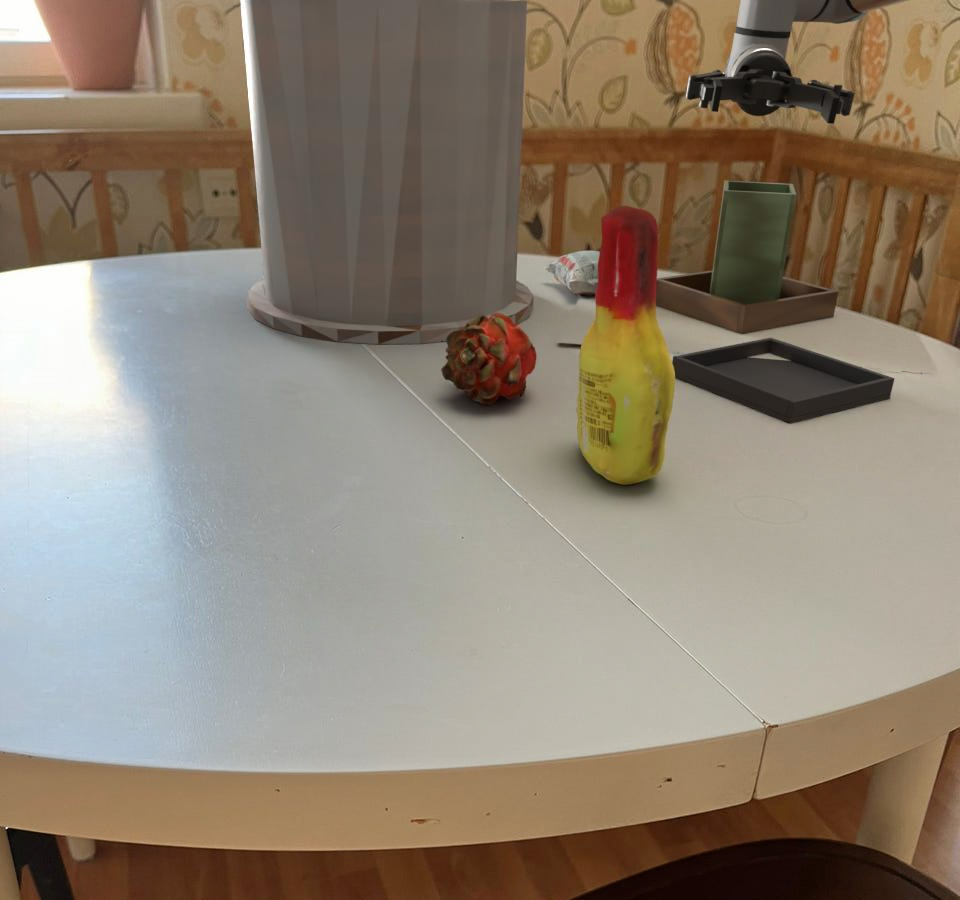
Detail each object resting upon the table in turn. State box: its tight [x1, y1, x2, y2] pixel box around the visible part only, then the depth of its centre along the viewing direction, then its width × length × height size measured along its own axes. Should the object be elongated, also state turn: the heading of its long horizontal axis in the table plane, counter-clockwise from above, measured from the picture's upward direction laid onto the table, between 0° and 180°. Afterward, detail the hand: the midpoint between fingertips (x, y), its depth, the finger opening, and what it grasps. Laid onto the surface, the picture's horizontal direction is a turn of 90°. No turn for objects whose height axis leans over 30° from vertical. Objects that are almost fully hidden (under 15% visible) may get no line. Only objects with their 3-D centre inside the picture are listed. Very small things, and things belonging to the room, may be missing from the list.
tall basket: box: [709, 179, 797, 305], centre depth 125 cm, size 8×8×14 cm
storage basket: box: [240, 0, 534, 345], centre depth 121 cm, size 35×35×32 cm
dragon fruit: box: [440, 313, 537, 406], centre depth 99 cm, size 8×8×12 cm
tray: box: [671, 337, 895, 424], centre depth 104 cm, size 16×14×2 cm
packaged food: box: [544, 250, 600, 296], centre depth 135 cm, size 9×12×5 cm
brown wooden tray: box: [656, 269, 839, 335], centre depth 128 cm, size 16×16×4 cm
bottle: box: [576, 205, 676, 486], centre depth 81 cm, size 12×6×20 cm, turn 13°
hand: (775, 105), depth 123 cm, fingers open, 13 cm apart
